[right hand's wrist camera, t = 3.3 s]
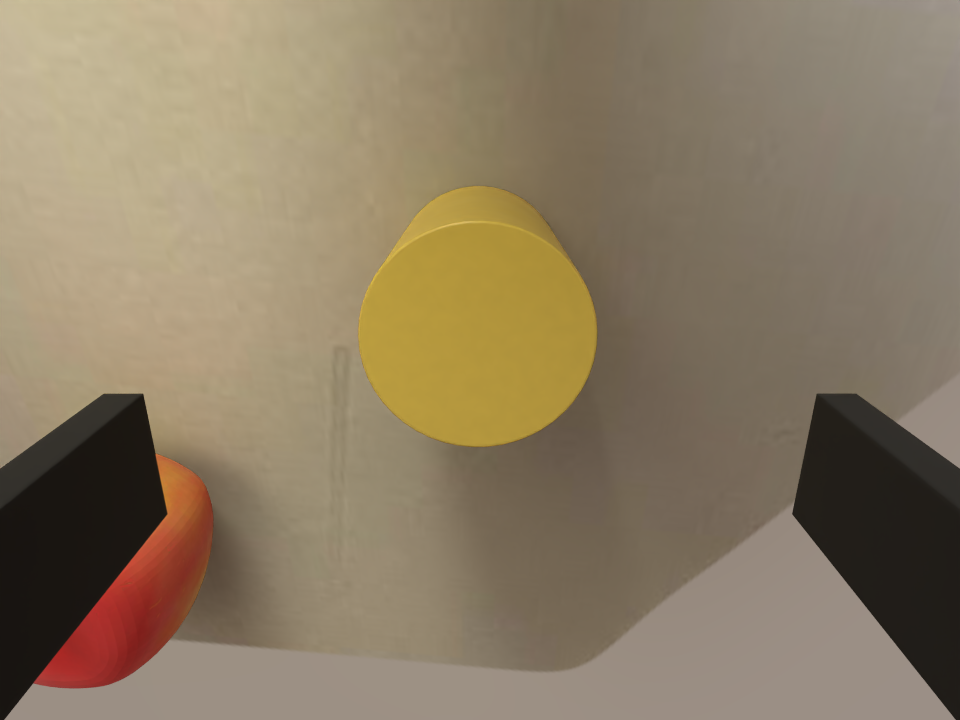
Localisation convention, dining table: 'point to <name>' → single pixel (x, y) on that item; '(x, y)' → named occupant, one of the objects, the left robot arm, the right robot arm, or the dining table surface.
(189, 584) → the apple
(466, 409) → the canister
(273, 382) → the dining table surface
